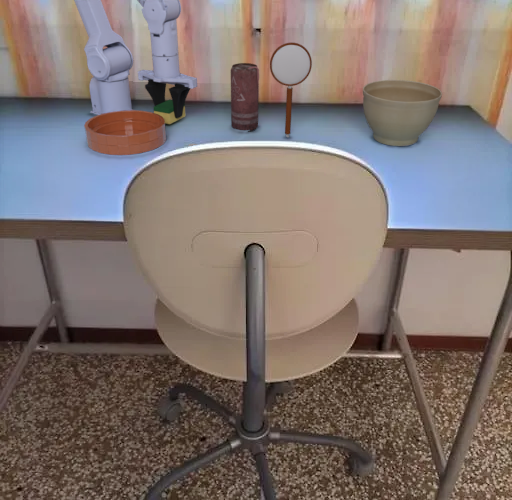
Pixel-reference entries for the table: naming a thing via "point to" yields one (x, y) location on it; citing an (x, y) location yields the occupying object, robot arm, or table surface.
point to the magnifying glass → (290, 71)
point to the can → (244, 96)
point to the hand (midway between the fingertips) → (169, 115)
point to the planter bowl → (399, 110)
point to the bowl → (125, 132)
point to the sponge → (167, 111)
